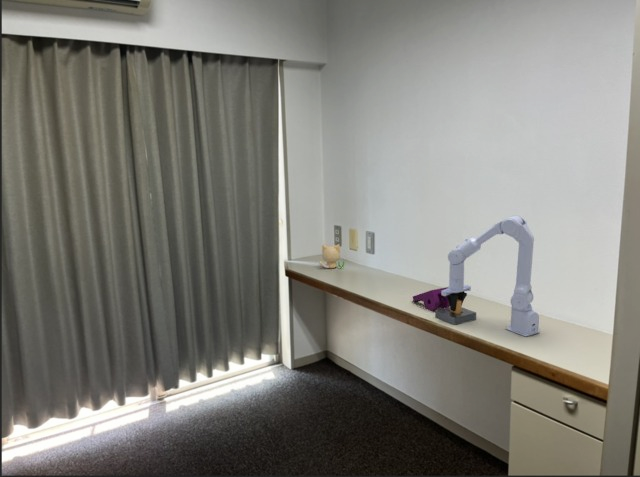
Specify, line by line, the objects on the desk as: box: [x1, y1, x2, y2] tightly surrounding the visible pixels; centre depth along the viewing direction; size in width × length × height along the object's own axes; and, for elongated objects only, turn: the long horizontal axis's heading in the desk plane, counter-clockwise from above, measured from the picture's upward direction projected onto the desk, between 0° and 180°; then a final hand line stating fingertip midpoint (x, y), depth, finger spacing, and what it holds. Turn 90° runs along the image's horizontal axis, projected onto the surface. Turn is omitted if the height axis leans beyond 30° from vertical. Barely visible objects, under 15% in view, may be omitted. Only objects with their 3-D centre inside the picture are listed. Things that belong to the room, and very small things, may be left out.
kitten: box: [318, 243, 345, 269], centre depth 285 cm, size 15×10×15 cm
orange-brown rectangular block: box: [450, 299, 463, 314], centre depth 194 cm, size 4×2×8 cm, turn 29°
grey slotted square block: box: [434, 306, 477, 326], centre depth 194 cm, size 11×12×3 cm
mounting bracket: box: [412, 286, 450, 312], centre depth 212 cm, size 9×8×18 cm
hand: (455, 309), depth 194 cm, fingers closed on orange-brown rectangular block, 2 cm apart
